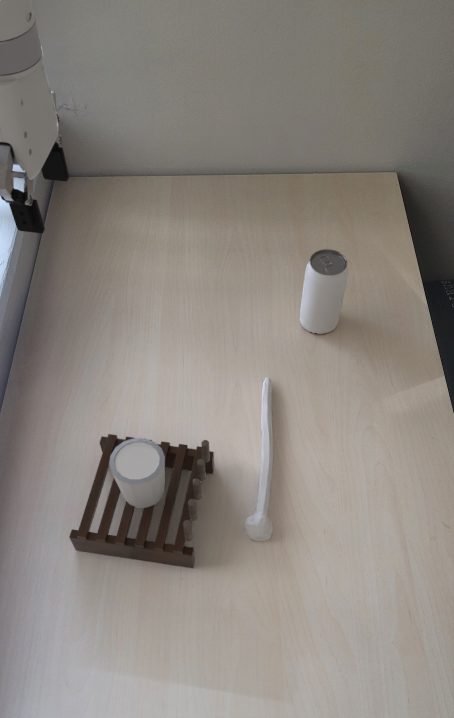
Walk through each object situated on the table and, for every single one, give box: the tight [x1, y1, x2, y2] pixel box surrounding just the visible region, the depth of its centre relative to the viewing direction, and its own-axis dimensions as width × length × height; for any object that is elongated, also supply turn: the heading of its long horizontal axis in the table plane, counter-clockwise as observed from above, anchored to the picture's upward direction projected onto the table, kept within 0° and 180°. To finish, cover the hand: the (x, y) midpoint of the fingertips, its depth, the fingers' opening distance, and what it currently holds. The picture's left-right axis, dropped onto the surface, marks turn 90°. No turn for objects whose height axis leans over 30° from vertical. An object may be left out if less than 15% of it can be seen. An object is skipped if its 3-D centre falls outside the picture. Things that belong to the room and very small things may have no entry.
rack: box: [68, 433, 215, 569], centre depth 85 cm, size 16×16×9 cm
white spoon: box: [242, 376, 275, 542], centre depth 91 cm, size 28×4×3 cm, turn 178°
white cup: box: [109, 437, 166, 509], centre depth 81 cm, size 7×7×7 cm
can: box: [298, 248, 349, 335], centre depth 100 cm, size 6×6×12 cm
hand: (44, 204), depth 77 cm, fingers open, 9 cm apart
